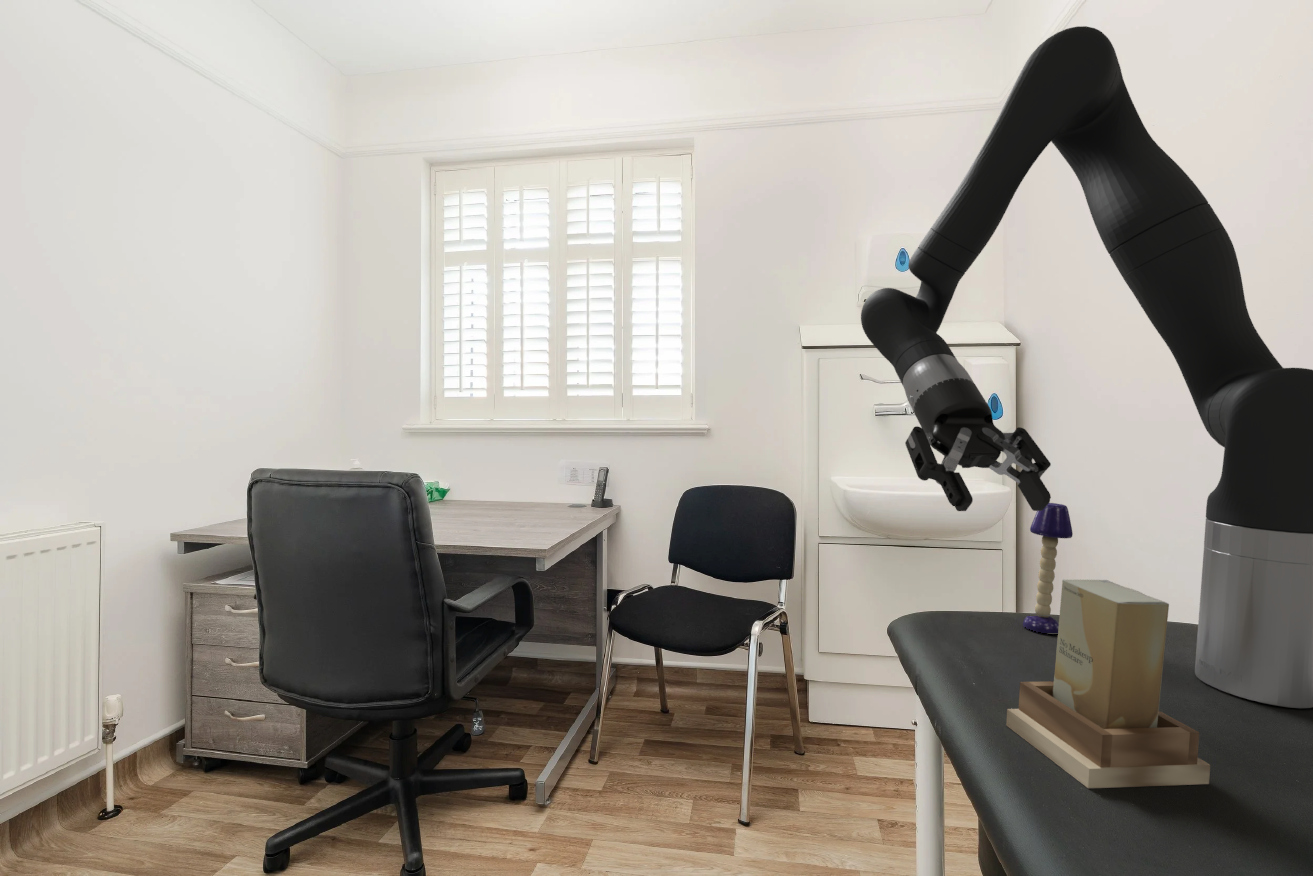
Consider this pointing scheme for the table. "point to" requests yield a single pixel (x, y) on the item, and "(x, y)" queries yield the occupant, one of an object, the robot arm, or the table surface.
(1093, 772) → the wooden tray
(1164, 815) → the table surface
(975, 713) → the table surface
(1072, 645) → the skincare box
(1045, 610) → the toy lamp
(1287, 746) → the table surface
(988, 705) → the table surface
